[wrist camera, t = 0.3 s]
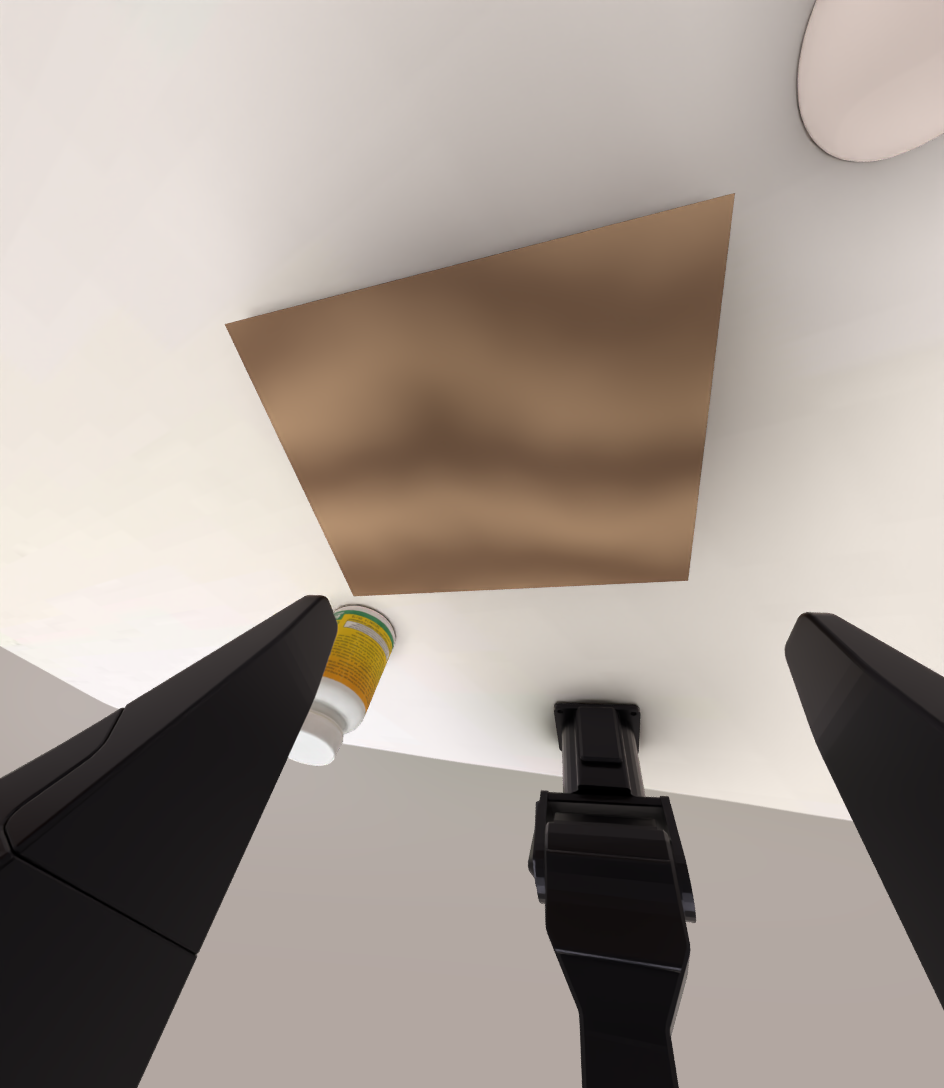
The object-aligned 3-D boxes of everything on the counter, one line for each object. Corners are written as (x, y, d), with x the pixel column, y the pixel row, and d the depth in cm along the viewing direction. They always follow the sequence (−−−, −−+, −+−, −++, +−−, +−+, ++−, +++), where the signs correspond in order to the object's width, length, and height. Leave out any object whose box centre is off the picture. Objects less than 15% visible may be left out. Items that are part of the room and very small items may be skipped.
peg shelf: (678, 558, 23) (687, 580, 21) (365, 577, 28) (353, 596, 26) (714, 201, 14) (734, 193, 13) (252, 319, 19) (224, 324, 18)
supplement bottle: (381, 660, 33) (328, 782, 25) (322, 630, 32) (248, 747, 24) (408, 625, 30) (358, 751, 22) (344, 591, 29) (267, 710, 21)
